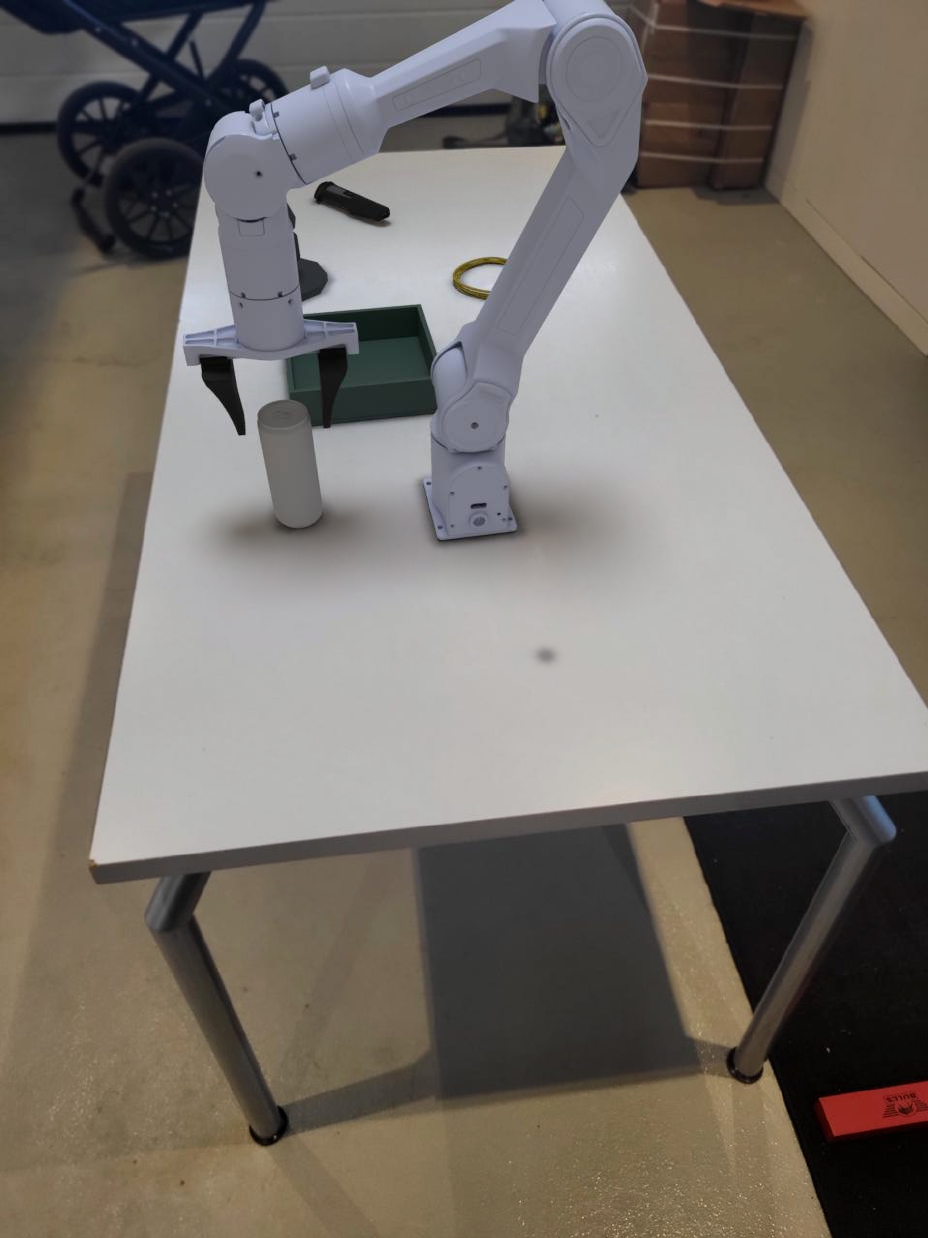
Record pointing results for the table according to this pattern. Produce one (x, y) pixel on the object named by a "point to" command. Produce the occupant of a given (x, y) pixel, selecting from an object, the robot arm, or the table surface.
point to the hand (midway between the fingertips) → (284, 425)
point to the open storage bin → (373, 367)
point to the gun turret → (307, 269)
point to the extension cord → (468, 265)
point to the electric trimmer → (351, 201)
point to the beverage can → (290, 462)
